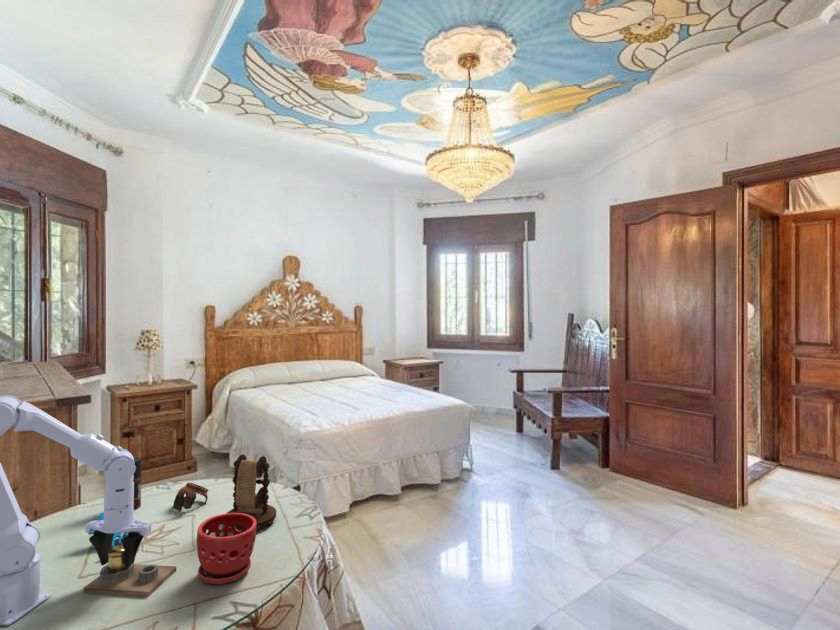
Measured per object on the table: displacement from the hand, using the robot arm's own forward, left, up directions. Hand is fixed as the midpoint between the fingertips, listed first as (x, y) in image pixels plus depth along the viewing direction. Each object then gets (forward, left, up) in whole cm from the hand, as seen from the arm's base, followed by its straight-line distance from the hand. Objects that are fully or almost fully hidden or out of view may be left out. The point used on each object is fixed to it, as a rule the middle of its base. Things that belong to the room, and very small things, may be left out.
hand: (117, 563), depth 104 cm
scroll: (+31, -18, -4) cm, 36 cm away
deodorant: (+37, +24, -4) cm, 45 cm away
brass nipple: (0, 0, -3) cm, 3 cm away
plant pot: (+5, -24, -4) cm, 24 cm away
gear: (+16, +14, -4) cm, 22 cm away
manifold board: (0, -4, -4) cm, 5 cm away
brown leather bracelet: (+40, +6, -4) cm, 40 cm away
